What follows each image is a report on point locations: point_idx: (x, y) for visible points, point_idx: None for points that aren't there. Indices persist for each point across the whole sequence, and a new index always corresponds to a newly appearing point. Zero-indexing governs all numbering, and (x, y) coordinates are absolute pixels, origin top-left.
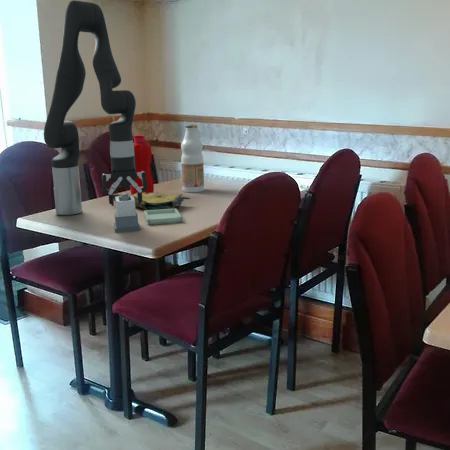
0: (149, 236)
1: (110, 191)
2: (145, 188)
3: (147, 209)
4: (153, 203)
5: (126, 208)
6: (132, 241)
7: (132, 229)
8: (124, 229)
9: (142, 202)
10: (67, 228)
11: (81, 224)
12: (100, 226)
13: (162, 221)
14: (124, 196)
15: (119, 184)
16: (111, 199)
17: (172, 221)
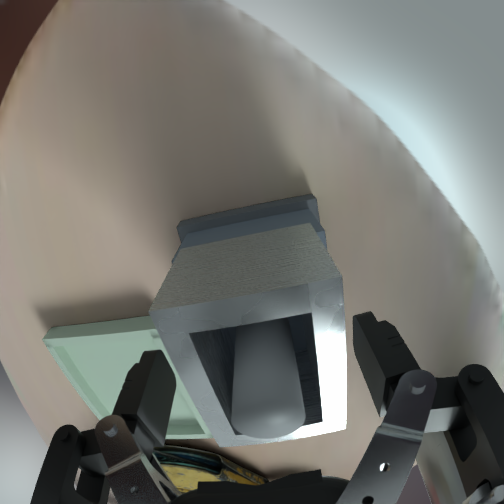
0: (117, 108)
1: (422, 396)
2: (63, 436)
3: (216, 456)
4: (188, 467)
5: (240, 260)
6: (192, 22)
7: (218, 215)
8: (262, 207)
9: (232, 478)
10: (486, 281)
11: (442, 331)
12: (383, 306)
13: (105, 326)
14: (265, 385)
15: (330, 494)
16: (387, 343)
17: (74, 328)
